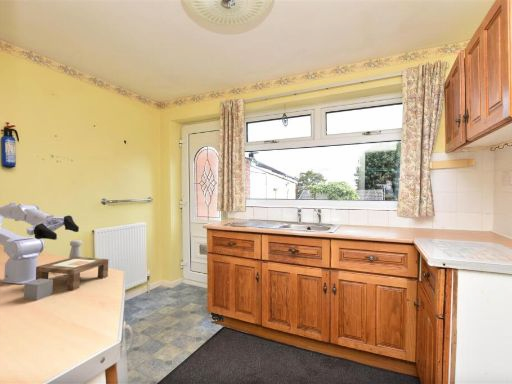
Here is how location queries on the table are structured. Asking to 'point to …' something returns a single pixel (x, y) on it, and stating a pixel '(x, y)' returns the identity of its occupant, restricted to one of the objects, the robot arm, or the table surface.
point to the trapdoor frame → (73, 270)
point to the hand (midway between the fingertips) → (67, 233)
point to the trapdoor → (74, 263)
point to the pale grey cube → (38, 289)
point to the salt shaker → (75, 248)
